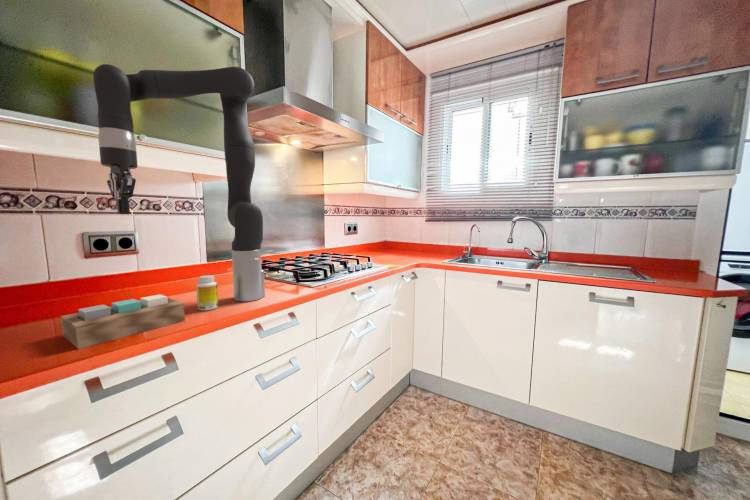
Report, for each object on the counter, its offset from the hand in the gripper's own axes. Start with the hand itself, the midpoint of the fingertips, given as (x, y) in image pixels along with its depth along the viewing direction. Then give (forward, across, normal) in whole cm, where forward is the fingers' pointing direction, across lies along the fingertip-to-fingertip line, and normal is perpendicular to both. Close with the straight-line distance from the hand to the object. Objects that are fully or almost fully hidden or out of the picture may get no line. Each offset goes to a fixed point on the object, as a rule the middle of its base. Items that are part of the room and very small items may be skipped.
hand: (123, 213), depth 80 cm
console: (+29, -10, +4) cm, 31 cm away
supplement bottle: (+29, -10, -16) cm, 35 cm away
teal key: (+26, -10, +4) cm, 28 cm away
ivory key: (+26, -10, -2) cm, 28 cm away
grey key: (+26, -10, +10) cm, 30 cm away
